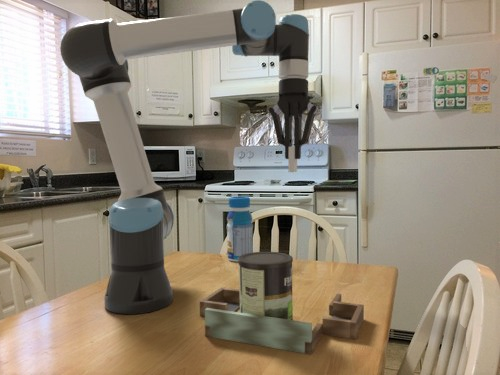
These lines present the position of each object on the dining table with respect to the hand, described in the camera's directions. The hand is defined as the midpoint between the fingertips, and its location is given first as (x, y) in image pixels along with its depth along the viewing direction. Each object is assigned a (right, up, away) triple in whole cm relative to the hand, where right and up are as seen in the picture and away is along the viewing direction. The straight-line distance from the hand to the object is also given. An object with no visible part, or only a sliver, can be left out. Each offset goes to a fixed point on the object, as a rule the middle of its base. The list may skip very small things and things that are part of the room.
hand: (292, 171), depth 110 cm
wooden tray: (-5, -31, -23) cm, 39 cm away
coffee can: (-8, -31, -29) cm, 43 cm away
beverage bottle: (-14, -27, +27) cm, 41 cm away
